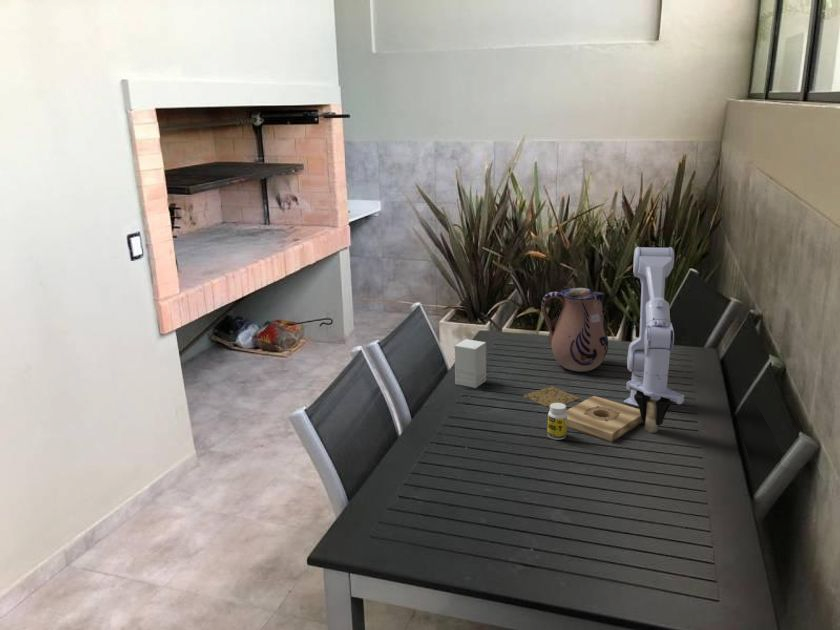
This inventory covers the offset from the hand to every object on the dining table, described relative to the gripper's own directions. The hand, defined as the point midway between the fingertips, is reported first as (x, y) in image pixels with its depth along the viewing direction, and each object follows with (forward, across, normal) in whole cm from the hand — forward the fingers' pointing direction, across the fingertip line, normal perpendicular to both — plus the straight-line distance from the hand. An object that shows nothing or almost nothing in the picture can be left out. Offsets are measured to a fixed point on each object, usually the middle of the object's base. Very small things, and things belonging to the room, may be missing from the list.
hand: (651, 421), depth 176 cm
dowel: (+2, 0, 0) cm, 2 cm away
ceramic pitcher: (+3, -40, +26) cm, 48 cm away
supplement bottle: (+3, -16, -19) cm, 25 cm away
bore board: (+2, -12, -4) cm, 13 cm away
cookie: (+3, -31, +1) cm, 31 cm away
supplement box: (+3, -56, -6) cm, 56 cm away
